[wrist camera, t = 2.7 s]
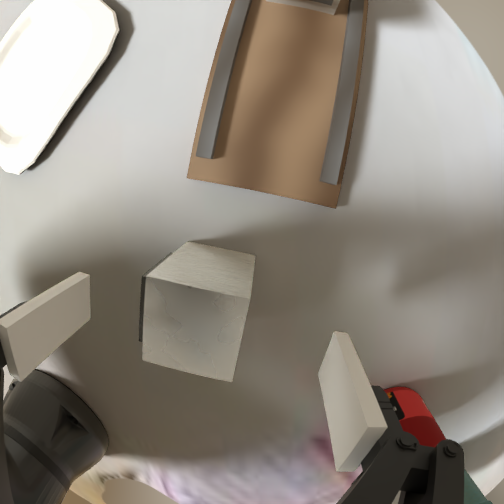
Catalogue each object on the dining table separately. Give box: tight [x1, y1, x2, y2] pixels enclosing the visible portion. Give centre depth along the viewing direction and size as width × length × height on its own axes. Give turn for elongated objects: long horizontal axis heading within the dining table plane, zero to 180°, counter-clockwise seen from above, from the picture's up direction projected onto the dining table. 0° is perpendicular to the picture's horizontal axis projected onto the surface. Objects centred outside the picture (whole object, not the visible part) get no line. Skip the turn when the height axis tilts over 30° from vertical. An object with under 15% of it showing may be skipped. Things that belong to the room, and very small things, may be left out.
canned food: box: [384, 387, 446, 504], centre depth 19 cm, size 8×8×11 cm
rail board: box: [187, 0, 368, 209], centre depth 13 cm, size 10×20×9 cm, turn 169°
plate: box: [0, 0, 120, 174], centre depth 17 cm, size 18×18×2 cm
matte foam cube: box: [139, 241, 256, 382], centre depth 18 cm, size 6×5×8 cm
